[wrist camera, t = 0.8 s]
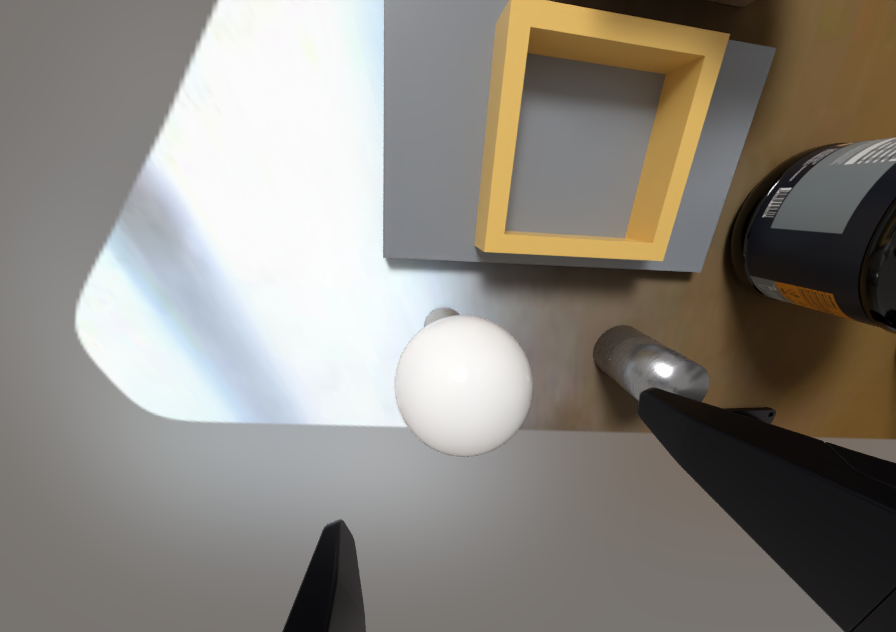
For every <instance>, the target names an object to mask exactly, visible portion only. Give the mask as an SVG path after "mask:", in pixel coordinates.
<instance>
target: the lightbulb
mask: <svg viewBox="0 0 896 632" xmlns="http://www.w3.org/2000/svg"><path fill="white" fill-rule="evenodd" d="M394 389H395V398H396V403H397V406H398V409H399V412H400V414H401V417H402V419H403V420H404V422H405V424H406V425H407V427H408V428H409V430H410V431H411V432H412V433H413V434H414V435H415V436H416V437H417V438H418V439H419V440H420V441H422V442H423V443H424V444H425V445H427V446H429V447H430V448H432V449H434V450H436V451H438V452H441V453H444V454H447V455H452V456H460V457H469V456H477V455H481V454H485V453H488V452H490V451H493V450H495V449H497V448H498V447H500V446H501V445H503V444H505V443H506V442H507V441H508V440H509V439H510V438H511V437H512V436H513V435H515V433H516V432H517V431H518V430H519V428H520V427H521V426H522V424H523V422H524V421H525V419H526V417H527V414H528V412H529V409H530V405H531V401H532V395H533V378H532V372H531V368H530V364H529V361H528V359H527V356H526V354H525V352H524V351H523V349H522V347H521V346H520V344H519V343H518V342H517V341H516V339H515V338H514V337H513V336H512V335H511V334H510V333H509V332H508V331H506V330H505V329H504V328H502V327H501V326H499V325H498V324H496V323H494V322H492V321H490V320H487V319H485V318H481V317H477V316H471V315H460V314H459V313H458V312H457V311H455V310H453V309H451V308H446V307H442V308H438V309H435V310H433V311H432V312H431V313H430V314H429V315H428V316H427V317H426V319H425V322H424V328H422V329H421V330H420V331H419V332H418V333H416V334H415V335H414V336H413V338H412V339H411V340H410V341H409V342H408V344H407V345H406V347H405V348H404V350H403V352H402V354H401V356H400V358H399V361H398V364H397V368H396V373H395V381H394Z"/></svg>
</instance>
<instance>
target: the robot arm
mask: <svg viewBox="0 0 896 632" xmlns="http://www.w3.org/2000/svg"><path fill="white" fill-rule="evenodd" d="M638 414H639V416H640V418H641V420H642V421H643V422H644V423H645V424H646V426H647V427H648V428H649V429H650V430H651V432H652V433H653V434H654V435H655V436H656V438H657V439H658V440H659V441H660V442H661V444H662V445H663V446H664V447H665V448H666V450H667V451H668V452H669V453H670V454H671V456H672V457H673V458H674V459H675V460H676V461H677V463H678V464H679V465H681V467H682V468H683V469H684V470H685V471H686V472H687V473H688V474H689V475H690V476H691V477H692V478H693V479H694V480H695V481H696V482H697V483H698V484H699V485H700V486H701V487H702V488H703V489H704V490H705V491H706V492H707V493H708V494H709V495H710V496H711V497H712V498H713V499H714V500H715V501H716V502H717V503H718V504H719V505H720V506H721V507H722V508H723V509H724V510H725V511H726V512H727V513H728V514H729V515H730V516H731V518H732V519H733V520H735V522H736V523H737V524H738V525H739V526H741V528H742V529H743V530H744V531H746V533H748V535H749V536H750V537H751V538H752V539H753V540H754V541H755V542H756V543H757V544H758V545H759V546H760V547H761V548H762V549H763V550H764V551H765V552H766V553H767V554H768V555H769V556H770V557H771V558H772V559H773V560H774V561H775V562H776V563H777V564H778V565H779V566H780V567H781V568H782V569H783V570H784V571H785V572H786V573H787V574H788V575H789V576H790V577H791V578H792V579H793V580H794V581H795V582H796V583H797V584H798V585H799V586H800V587H801V588H802V589H803V590H804V591H805V592H806V593H807V594H808V595H809V596H810V597H811V598H812V599H813V600H814V601H815V603H816V604H817V605H818V606H819V607H821V609H823V611H824V612H825V613H826V614H827V615H828V616H829V617H830V618H831V619H832V620H833V621H834V622H835V623H836V624H837V625H838V626H839V627H840V628H841V629H842V630H843V631H844V632H896V463H893V462H890V461H886V460H882V459H879V458H876V457H873V456H870V455H866V454H863V453H860V452H857V451H853V450H850V449H847V448H844V447H841V446H837V445H834V444H831V443H828V442H826V443H824V442H823V441H822V440H818V439H815V438H812V437H809V436H806V435H803V434H800V433H797V432H793V431H790V430H787V429H784V428H781V427H778V426H775V425H772V424H771V423H772V421H773V419H774V417H775V414H776V411H775V410H773V409H772V408H769V407H763V408H730V409H722V408H718V407H715V406H712V405H709V404H706V403H703V402H700V401H697V400H693V399H690V398H687V397H684V396H681V395H678V394H675V393H672V392H668V391H665V390H662V389H659V388H655V387H652V388H649V389H646V390H644V391H642V392H641V393H640V395H639V403H638ZM282 632H366V626H365V613H364V604H363V597H362V590H361V583H360V576H359V568H358V561H357V555H356V547H355V542H354V538H353V536H352V534H351V532H350V531H349V529H348V527H347V526H346V524H345V522H344V521H343V520H342V519H339V520H336V521H334V522H331V523H329V524H327V525H326V526H325V527H324V529H323V531H322V534H321V536H320V539H319V541H318V544H317V546H316V549H315V551H314V554H313V556H312V559H311V561H310V564H309V566H308V569H307V571H306V574H305V576H304V579H303V581H302V584H301V586H300V589H299V591H298V594H297V597H296V599H295V601H294V604H293V606H292V609H291V611H290V614H289V616H288V619H287V621H286V624H285V626H284V629H283V631H282Z"/></svg>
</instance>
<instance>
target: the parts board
mask: <svg viewBox="0 0 896 632" xmlns="http://www.w3.org/2000/svg"><path fill="white" fill-rule="evenodd" d="M729 36H730V34H727V33H722V32H717V31H711V30H706V29H700V28H695V27H689V26H684V25H678V24H673V23H667V22H662V21H656V20H651V19H645V18H640V17H635V16H629V15H624V14H618V13H613V12H607V11H602V10H596V9H591V8H585V7H580V6H574V5H569V4H564V3H558V2H553V1H547V0H384V200H383V258H403V259H424V260H446V261H467V262H489V263H510V264H532V265H553V266H575V267H596V268H618V269H639V270H661V271H682V272H701V270H702V267H703V264H704V261H705V258H706V255H707V252H708V249H709V246H710V243H711V240H712V237H713V234H714V231H715V228H716V225H717V223H718V220H719V217H720V214H721V211H722V208H723V205H724V202H725V199H726V196H727V193H728V190H729V187H730V184H731V181H732V178H733V175H734V172H735V169H736V167H737V164H738V161H739V158H740V155H741V152H742V149H743V146H744V143H745V140H746V137H747V134H748V131H749V128H750V125H751V122H752V119H753V116H754V113H755V110H756V108H757V105H758V102H759V99H760V96H761V93H762V90H763V87H764V84H765V81H766V78H767V75H768V72H769V69H770V66H771V63H772V60H773V57H774V54H775V52H776V49H777V48H773V47H768V46H762V45H757V44H751V43H745V42H740V41H734V40H729Z"/></svg>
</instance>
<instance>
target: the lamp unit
mask: <svg viewBox="0 0 896 632" xmlns="http://www.w3.org/2000/svg"><path fill="white" fill-rule="evenodd" d="M707 1H712V2H717V3H722V4H727V5H732V6H737V7H742V8H743V7H745V6H747V5H749V4H750V3H752V2H754V1H756V0H707Z"/></svg>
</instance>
